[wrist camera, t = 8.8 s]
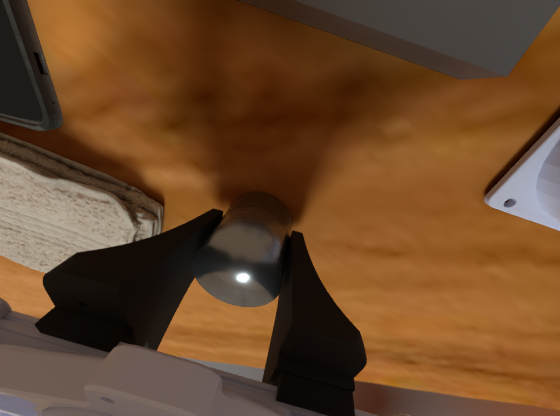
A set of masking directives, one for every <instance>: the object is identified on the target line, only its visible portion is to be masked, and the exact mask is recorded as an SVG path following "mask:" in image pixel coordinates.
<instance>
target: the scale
mask: <svg viewBox="0 0 560 416" xmlns="http://www.w3.org/2000/svg"><path fill="white" fill-rule="evenodd" d="M239 1H241V2H244V3H247V4H250V5H253V6H255V7H258V8H261V9H264V10H267V11H269V12H272V13H275V14H278V15H281V16H284V17H286V18H289V19H292V20H295V21H298V22H300V23H303V24H306V25H309V26H312V27H314V28H317V29H320V30H323V31H326V32H328V33H331V34H334V35H337V36H340V37H342V38H345V39H348V40H351V41H354V42H356V43H359V44H362V45H365V46H368V47H370V48H373V49H376V50H379V51H382V52H385V53H387V54H390V55H393V56H396V57H399V58H401V59H404V60H407V61H410V62H413V63H415V64H418V65H421V66H424V67H427V68H429V69H432V70H435V71H438V72H441V73H443V74H446V75H449V76H452V77H455V78H457V79H460V80H462V79H477V78H492V77H506V76H508V74H509V73H510V72H511V70H512V69H513V68H514V66H515V65H516V64H517V62H518V61H519V60H520V58H521V57H522V56H523V54H524V53H525V51H526V50H527V49H528V47H529V46H530V45H531V43H532V42H533V41H534V39H535V38H536V37H537V35H538V34H539V33H540V31H541V30H542V29H543V27H544V26H545V25H546V23H547V22H548V21H549V19H550V18H551V17H552V15H553V14H554V13H555V11H556V10H557V9H558V7H559V6H560V0H239Z"/></svg>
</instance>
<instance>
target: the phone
mask: <svg viewBox="0 0 560 416" xmlns="http://www.w3.org/2000/svg"><path fill="white" fill-rule="evenodd" d="M33 52H35V53H38V55H39V58H40V61H41V64H42V68H43V71H44V74H40V71H39V68H38V65H37V62H36V59H35V56H34V53H33ZM52 102H54V103H55V104H53V103H52ZM0 121H4V122H7V123H11V124H15V125H18V126H22V127H26V128H30V129H33V130H38V131H45V130H51V129H57V128H59V127H60V126H61V125H62V123H63V116H62V112H61V108H60V105H59V102H58V99H57V96H56V92H55V89H54V86H53V83H52V80H51V76H50V73H49V70H48V67H47V63H46V60H45V57H44V54H43V51H42V47H41V44H40V41H39V38H38V35H37V31H36V28H35V25H34V22H33V19H32V15H31V12H30V9H29V6H28V3H27V0H0Z"/></svg>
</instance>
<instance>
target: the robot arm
mask: <svg viewBox="0 0 560 416" xmlns="http://www.w3.org/2000/svg"><path fill="white" fill-rule="evenodd" d="M508 199H510V200H509V201H508V202H507V203H505V201H507V200H508ZM484 201H485V203H486V204H488V205H489V206H491V207H492V208H495V209H498V210H501V211H504V212H507V213H510V214H513V215H516V216H519V217H522V218H524V219H527V220H530V221H533V222H536V223H539V224H542V225H545V226H548V227H551V228H554V229H556V230H559V231H560V118H559V119H558V120H557V121H556V122H555V123H554V124H553V125H552V126H551V127H550V128H549V129H548V130H547V131H546V132H545V133H544V134H543V136H542V137H541V138H540V139H539V140H538V141H537V142H536V143H535V144H534V145H533V146H532V147H531V148H530V149H529V150H528V151H527V152H526V153H525V154H524V156H523V157H522V158H521V159H520V160H519V161H518V162H517V163H516V164H515V165H514V166H513V167H512V168H511V169H510V170H509V171H508V172H507V173H506V174H505V176H504V177H503V178H502V179H501V180H500V181H499V182H498V183H497V184H496V185H495V186H494V187H493V188H492V189H491V190H490V191H489V192H488V193H487V195H486V196H485V199H484ZM222 217H223V211H221V210H217V209H212V210H210V211H208V212H206V213H204V214H202V215H200V216H199V217H197V218H195V219H193V220H191V221H189V222H187V223H185V224H182V225H180V226H178V227H176V228H174V229H171V230H169V231H166V232H164V233H161V234H158V235H155V236H152V237H149V238H145V239H142V240H138V241H135V242H131V243H127V244H123V245H118V246H113V247H108V248H103V249H96V250H90V251H84V252H77V253H75V254H74V255H72V256H71V257H69V258H68V259H66V260H65V261H64V262H62V263H61V264H59V265H58V266H56V267H55V268H53V269H52V270H50V271H49V272H47V273H46V274H45V275H44V277H43V285H44V288H45V290H46V292H47V293H48V295H49V297H50V298H51V300H52V302H53V303H54V305H55V307H54V308H53V309H52V310H51V311H50V312H48V313H47V314H46V315H45V316H44V317H42V318H41V319H39V318H36V317H32V316H29V315H25V314H22V313H19V312H15V311H12V310H11V307H10V305H9V304H8V303H7V302H6V301H5V300H3V299H1V298H0V416H378V415H374V414H371V413H367V412H364V411H360V410H357V409H354V402H353V393H352V391H354V390H355V384H354V377H355V376H356V375H357V374H358V373H359V372H360V371H361V370H362V369H363V368H364V367H365V365H366V363H367V358H366V353H365V348H364V344H363V341H362V337H361V334H360V332H359V330H358V329H357V328H356V327H355V326H354V325H353V324H352V323H351V322H350V320H349V319H348V318H347V317H346V316H345V315H344V314H343V312H342V311H341V310H340V309H339V307H338V306H337V305H336V303H335V302H334V301H333V299H332V298H331V296H330V295H329V293H328V292H327V290H326V289H325V287H324V285H323V284H322V282H321V280H320V278H319V276H318V274H317V272H316V270H315V268H314V266H313V264H312V261H311V259H310V256H309V253H308V251H307V248H306V244H305V241H304V237H303V234H302V233H300V232H297V231H293V230H292V233H291V236H290V240H289V246H288V252H287V258H286V264H285V270H284V276H283V281H282V287H281V291H280V293H279V299H278V307H277V312H276V317H275V322H274V327H273V332H272V337H271V342H270V347H269V352H268V356H267V361H266V366H265V370H264V375H263V380H262V382H259V381H256V380H252V379H248V378H245V377H242V376H238V375H235V374H231V373H228V372H224V371H221V370H217V369H214V368H210V367H207V366H205V365H202V364H200V363H197V362H193V361H190V360H187V359H183V358H180V357H176V356H173V355H169V354H166V353H162V352H159V351H157V349H158V347H159V344H160V342H161V340H162V338H163V336H164V334H165V332H166V330H167V328H168V326H169V324H170V322H171V320H172V318H173V316H174V314H175V312H176V310H177V308H178V306H179V304H180V303H181V301H182V299H183V297H184V295H185V293H186V291H187V290H188V288H189V286H190V284H191V283H192V281H193V279H194V278H195V275H194V272H193V259H194V257H195V255H196V254H197V252H198V251H199V249H200V248H201V247H202V245H203V244H204V242H205V241H206V240H207V238H208V237H209V236H210V234H211V233H212V231H213V230H214V229H215V227H216V226H217V224H218V223H219V222H220V220H221V219H222ZM394 416H413V415H409V414H405V413H398V414H395V415H394Z"/></svg>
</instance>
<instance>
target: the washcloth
mask: <svg viewBox="0 0 560 416" xmlns="http://www.w3.org/2000/svg"><path fill="white" fill-rule="evenodd" d="M163 215H164V212H163V206H162V205H160V204H159V203H158V202H156V201H154V200H153V199H150V198H149V197H147V196H146V195H145V194H144V193H143V192H142V191H140V190H139V189H137V188H135V187H133V186H129V185H128V184H126V183H124V182H121V181H119V180H117V179H116V178H114V177H112V176H110V175H108V174H105V173H102V172H100V171H97V170H95V169H92V168H90V167H87V166H85V165H82V164H80V163H78V162H75V161H72V160H70V159H67V158H65V157H62V156H60V155H58V154H55V153H52V152H50V151H48V150H45V149H43V148H40V147H37V146H35V145H33V144H30V143H28V142H25V141H22V140H20V139H17V138H14V137H11V136H9V135H7V134H4V133H2V132H0V254H1V256H5V257H6V258H9V259H10V260H11V261H15V262H17V263H18V264H22V265H24V266H26V267H29V268H32V269H35V270H39V271H40V272H44V273H47V272H49V271H50V270H52V269H53V268H55V267H56V266H58V265H59V264H61V263H62V262H64V261H65V260H66V259H68V258H69V257H71V256H72V255H74V254H75V253H77V252H84V251H90V250H96V249H103V248H108V247H113V246H118V245H123V244H127V243H131V242H135V241H138V240H142V239H145V238H149V237H152V236H155V235H158V234H161V233H162V229H163Z"/></svg>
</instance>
